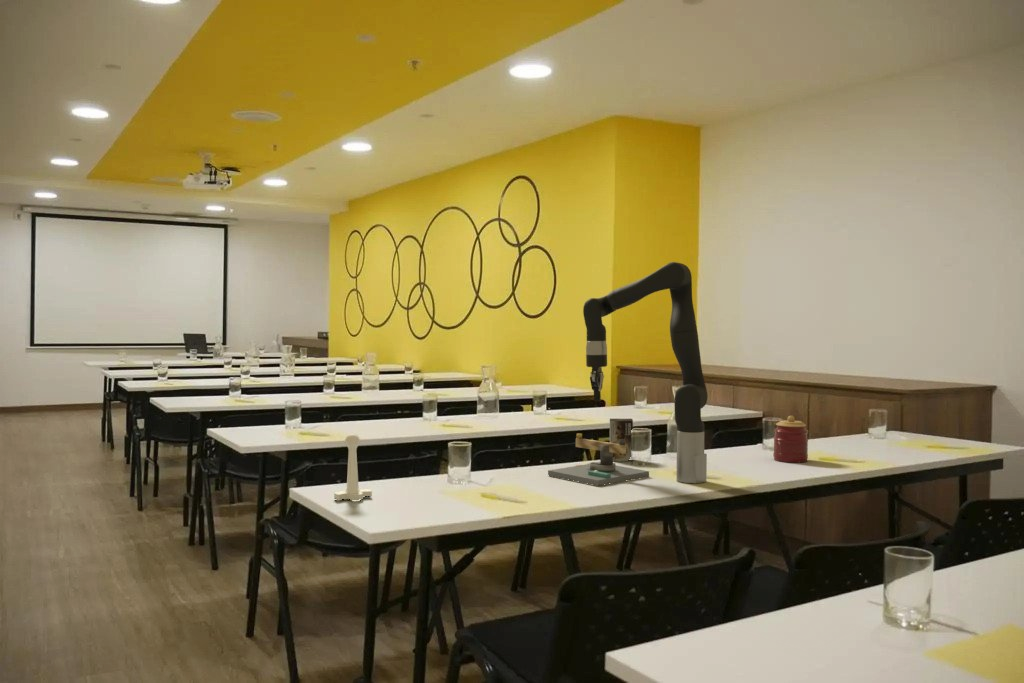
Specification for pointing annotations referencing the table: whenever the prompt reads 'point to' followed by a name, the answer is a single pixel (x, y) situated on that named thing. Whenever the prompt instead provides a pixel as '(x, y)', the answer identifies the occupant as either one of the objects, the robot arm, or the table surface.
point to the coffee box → (621, 436)
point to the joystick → (352, 473)
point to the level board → (598, 474)
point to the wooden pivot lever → (602, 452)
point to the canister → (790, 441)
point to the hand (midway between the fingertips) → (597, 401)
